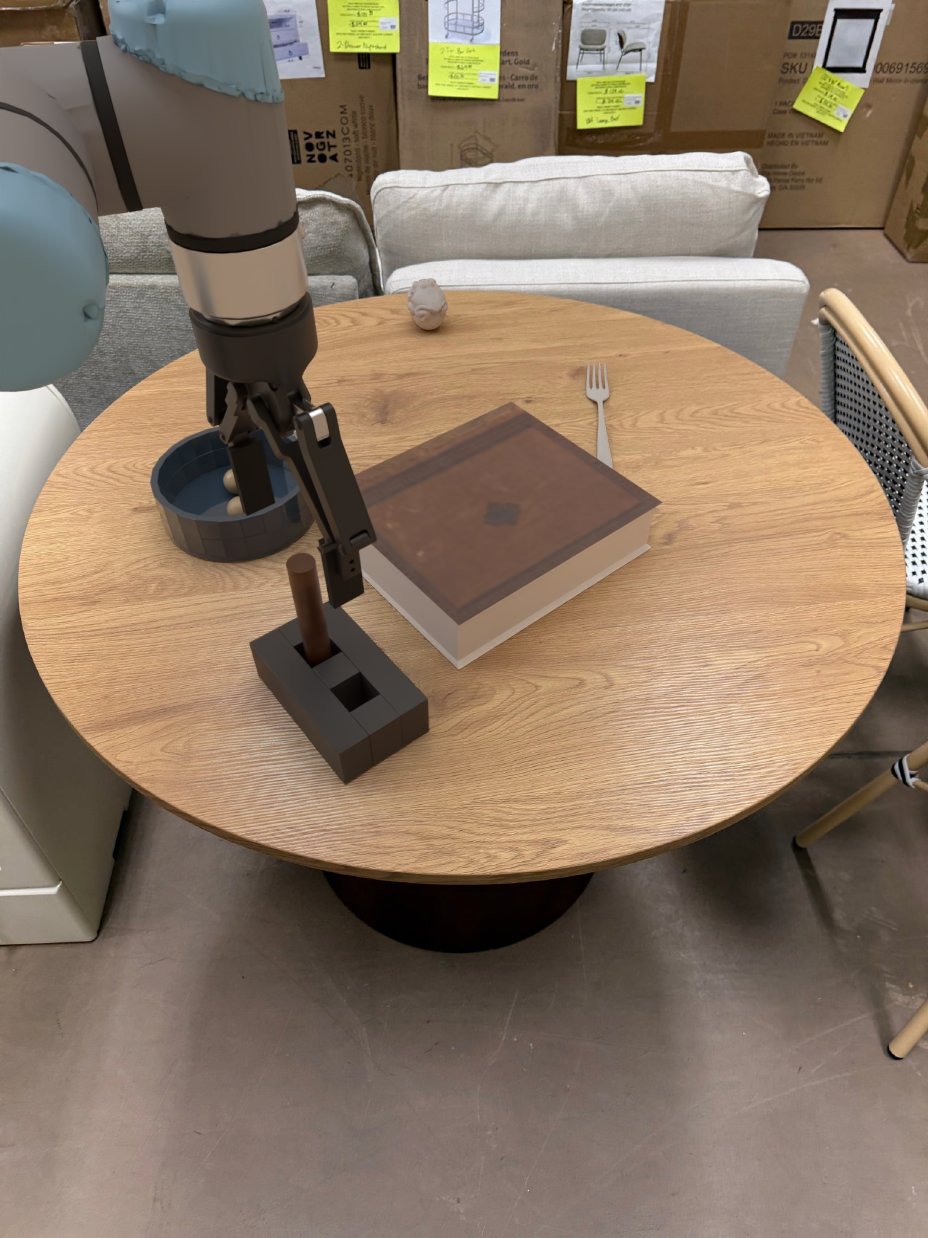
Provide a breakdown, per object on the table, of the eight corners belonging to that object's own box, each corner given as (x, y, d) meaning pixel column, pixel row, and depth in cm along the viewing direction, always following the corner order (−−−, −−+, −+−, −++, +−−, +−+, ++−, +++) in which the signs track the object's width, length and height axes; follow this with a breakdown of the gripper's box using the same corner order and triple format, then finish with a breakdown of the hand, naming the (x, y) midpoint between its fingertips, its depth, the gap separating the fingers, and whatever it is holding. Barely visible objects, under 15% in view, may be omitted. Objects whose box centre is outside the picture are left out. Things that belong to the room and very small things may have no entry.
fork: (592, 477, 100) (594, 466, 98) (584, 371, 116) (585, 360, 115) (618, 478, 100) (621, 467, 98) (606, 372, 116) (608, 361, 115)
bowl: (208, 585, 87) (195, 544, 82) (139, 502, 96) (124, 460, 92) (346, 518, 94) (341, 477, 90) (271, 447, 103) (262, 406, 99)
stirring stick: (320, 696, 77) (295, 577, 65) (306, 680, 78) (280, 560, 67) (341, 683, 78) (321, 564, 66) (328, 668, 79) (305, 548, 68)
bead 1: (233, 502, 95) (228, 482, 93) (221, 489, 96) (216, 469, 94) (256, 492, 96) (251, 472, 94) (244, 479, 98) (239, 459, 95)
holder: (345, 785, 71) (339, 754, 67) (258, 675, 79) (248, 642, 75) (429, 730, 75) (428, 698, 71) (338, 631, 83) (333, 597, 79)
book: (323, 538, 92) (315, 492, 87) (508, 445, 104) (511, 401, 99) (458, 669, 79) (458, 625, 75) (651, 547, 91) (663, 502, 87)
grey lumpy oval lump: (436, 312, 127) (435, 268, 122) (456, 332, 123) (456, 287, 118) (400, 320, 125) (398, 276, 120) (419, 341, 121) (418, 296, 116)
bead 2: (237, 532, 91) (232, 511, 89) (225, 518, 93) (219, 497, 91) (261, 521, 93) (256, 500, 90) (248, 507, 94) (243, 487, 92)
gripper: (419, 361, 45) (431, 618, 61) (211, 215, 58) (265, 458, 74) (302, 410, 42) (346, 668, 57) (109, 244, 55) (188, 491, 70)
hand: (300, 550), depth 66 cm, fingers open, 13 cm apart
